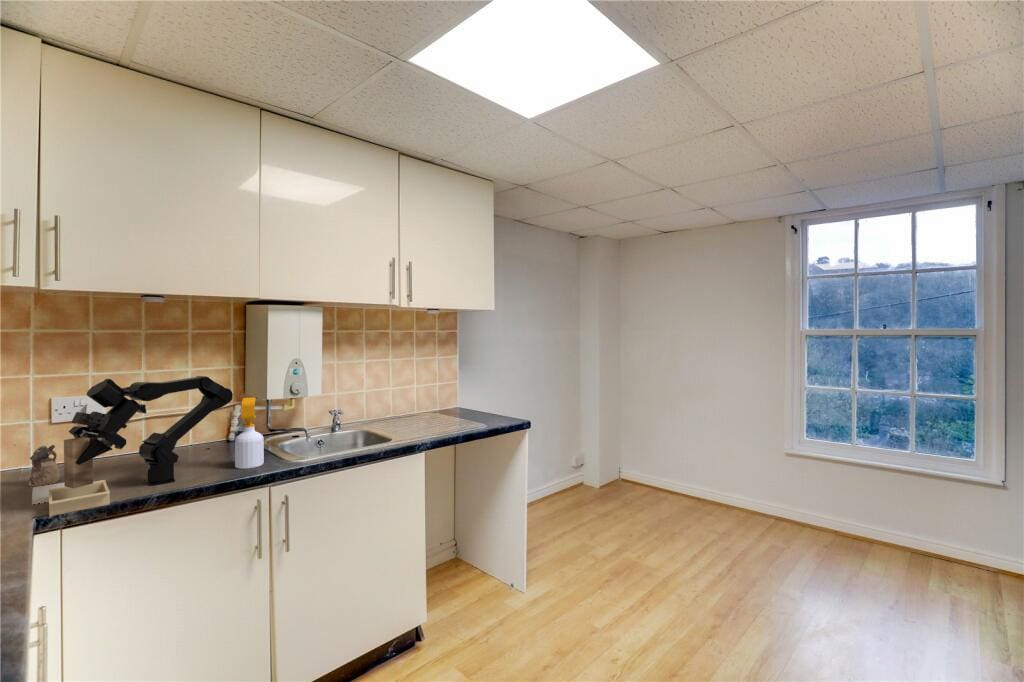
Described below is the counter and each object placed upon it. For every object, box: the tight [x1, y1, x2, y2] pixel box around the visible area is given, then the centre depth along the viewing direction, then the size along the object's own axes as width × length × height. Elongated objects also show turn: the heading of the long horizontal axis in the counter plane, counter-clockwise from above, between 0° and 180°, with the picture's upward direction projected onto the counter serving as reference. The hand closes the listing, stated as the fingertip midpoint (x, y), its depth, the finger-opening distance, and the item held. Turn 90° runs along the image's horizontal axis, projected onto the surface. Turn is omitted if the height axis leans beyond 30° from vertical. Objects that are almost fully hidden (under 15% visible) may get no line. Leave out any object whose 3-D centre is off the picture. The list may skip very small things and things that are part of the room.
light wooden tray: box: [48, 479, 111, 517], centre depth 133 cm, size 12×15×4 cm
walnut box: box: [63, 437, 94, 488], centre depth 133 cm, size 4×4×13 cm
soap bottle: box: [234, 397, 265, 470], centre depth 171 cm, size 9×9×25 cm
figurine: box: [28, 444, 61, 487], centre depth 151 cm, size 7×7×12 cm
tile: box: [31, 482, 65, 506], centre depth 141 cm, size 10×14×2 cm
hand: (72, 462), depth 132 cm, fingers closed on walnut box, 4 cm apart
